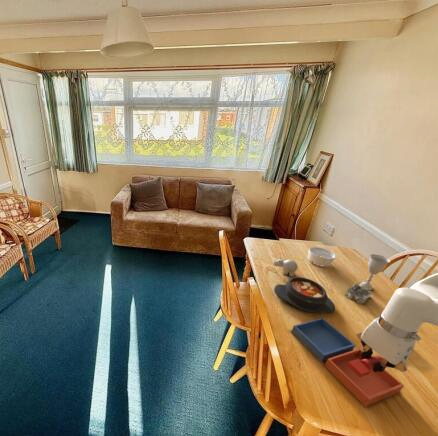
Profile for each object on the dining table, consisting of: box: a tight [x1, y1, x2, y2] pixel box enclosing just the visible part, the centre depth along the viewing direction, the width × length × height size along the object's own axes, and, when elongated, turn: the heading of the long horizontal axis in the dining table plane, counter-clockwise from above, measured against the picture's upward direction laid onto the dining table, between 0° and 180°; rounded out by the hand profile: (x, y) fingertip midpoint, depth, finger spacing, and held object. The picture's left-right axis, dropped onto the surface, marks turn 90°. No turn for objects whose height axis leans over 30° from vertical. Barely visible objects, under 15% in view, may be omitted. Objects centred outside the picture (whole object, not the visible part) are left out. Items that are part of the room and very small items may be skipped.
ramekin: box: [307, 246, 337, 268], centre depth 139 cm, size 13×13×7 cm
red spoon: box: [347, 354, 383, 378], centre depth 75 cm, size 11×4×3 cm, turn 105°
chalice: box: [358, 253, 391, 291], centre depth 116 cm, size 7×7×18 cm
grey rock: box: [346, 283, 372, 305], centre depth 112 cm, size 11×8×4 cm
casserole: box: [273, 276, 336, 314], centre depth 109 cm, size 25×19×8 cm
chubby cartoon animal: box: [273, 257, 299, 278], centre depth 129 cm, size 7×12×8 cm, turn 51°
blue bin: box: [291, 317, 356, 363], centre depth 90 cm, size 13×15×4 cm
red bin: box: [324, 348, 405, 407], centre depth 77 cm, size 13×15×4 cm
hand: (370, 364), depth 76 cm, fingers closed on red spoon, 3 cm apart
